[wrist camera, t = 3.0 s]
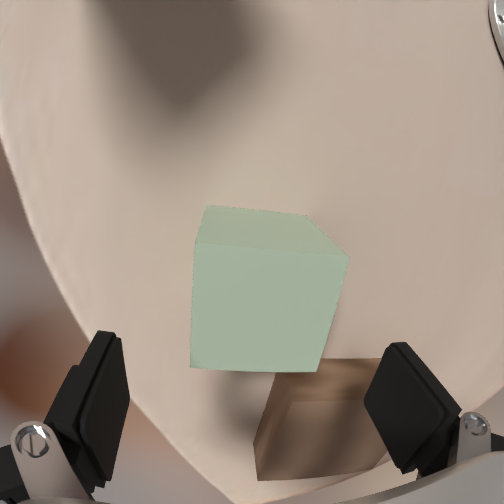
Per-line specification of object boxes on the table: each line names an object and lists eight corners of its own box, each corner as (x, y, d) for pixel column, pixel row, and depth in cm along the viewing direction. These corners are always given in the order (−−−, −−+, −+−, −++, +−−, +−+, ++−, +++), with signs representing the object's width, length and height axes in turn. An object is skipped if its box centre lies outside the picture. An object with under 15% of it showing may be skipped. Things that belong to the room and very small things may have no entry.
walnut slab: (405, 355, 24) (431, 390, 19) (358, 435, 28) (371, 468, 23) (280, 354, 22) (292, 401, 17) (252, 440, 26) (257, 480, 21)
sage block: (306, 215, 18) (349, 257, 12) (289, 302, 20) (316, 371, 14) (206, 204, 17) (194, 242, 11) (199, 295, 19) (190, 367, 13)
